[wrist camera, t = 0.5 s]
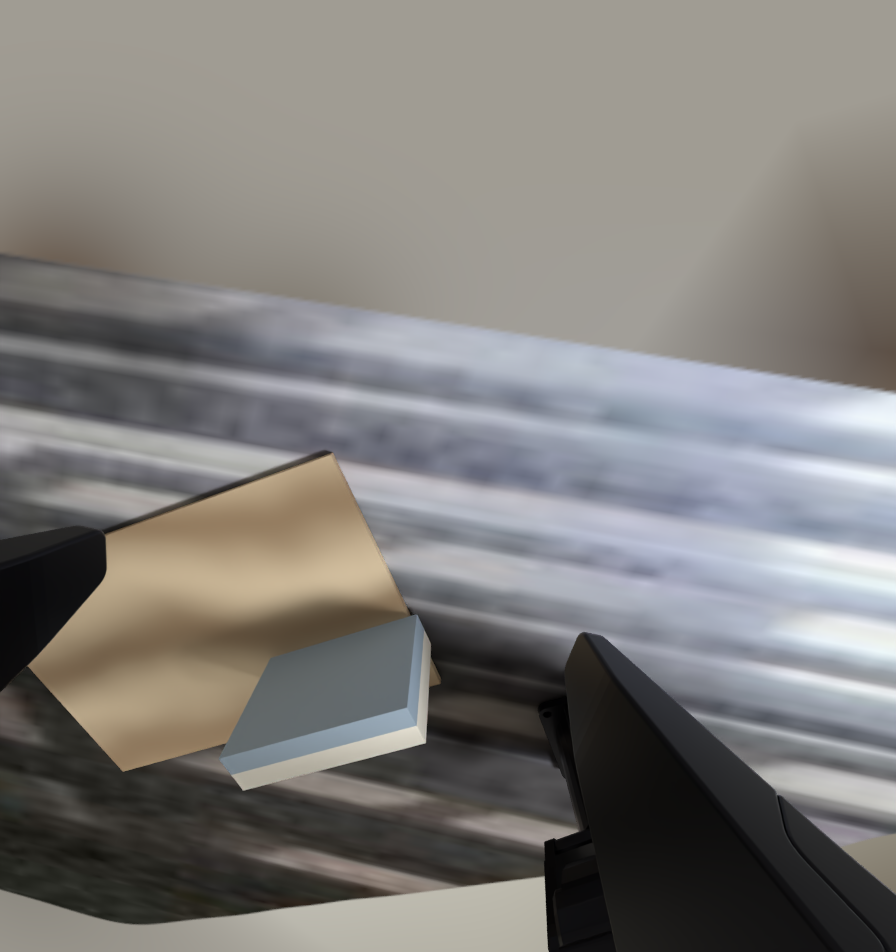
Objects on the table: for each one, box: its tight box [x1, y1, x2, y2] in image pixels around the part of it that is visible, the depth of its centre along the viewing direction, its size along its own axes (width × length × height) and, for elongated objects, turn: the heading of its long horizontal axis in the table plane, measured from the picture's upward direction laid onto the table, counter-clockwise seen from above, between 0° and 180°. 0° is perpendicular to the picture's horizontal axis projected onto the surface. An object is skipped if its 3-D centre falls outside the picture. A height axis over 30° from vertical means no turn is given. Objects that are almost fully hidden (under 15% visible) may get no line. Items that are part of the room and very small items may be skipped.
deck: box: [219, 614, 431, 791], centre depth 22 cm, size 2×9×6 cm, turn 110°
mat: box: [28, 452, 441, 771], centre depth 25 cm, size 15×22×1 cm
